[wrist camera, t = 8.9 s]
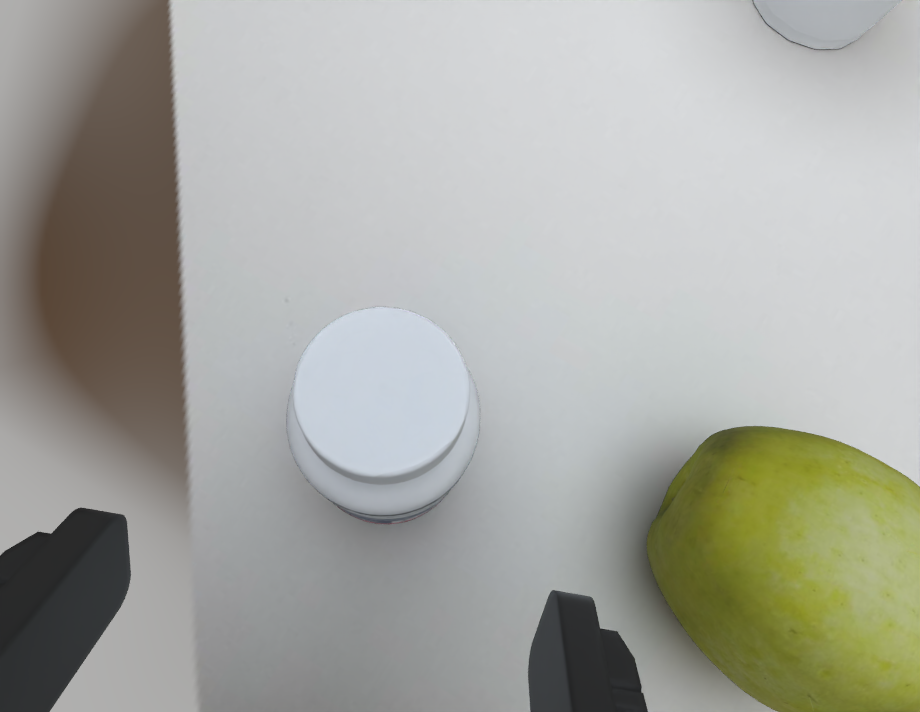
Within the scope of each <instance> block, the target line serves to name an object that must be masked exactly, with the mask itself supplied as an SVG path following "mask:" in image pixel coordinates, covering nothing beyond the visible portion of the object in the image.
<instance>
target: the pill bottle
mask: <svg viewBox="0 0 920 712" xmlns="http://www.w3.org/2000/svg"><path fill="white" fill-rule="evenodd" d="M286 421H287V435H288V441H289V445H290V449H291V452H292V454H293V457H294V459H295V461H296V463H297V466H298V467H299V469H300V470H301V472H302V474H303V475H304V476H305V478H306V479H307V481H308V482H309V483H310V484H311V485H312V486H313V487H314V488H315V489H316V490H317V491H318V492H319V493H321V494H322V495H323V496H324V497H326V498H327V499H328V500H330V501H331V502H333V503H334V504H335V505H337V506H338V507H339V508H340V509H341V510H343V511H344V512H346V513H348V514H349V515H351V516H353V517H356V518H358V519H360V520H363V521H367V522H371V523H375V524H396V523H402V522H406V521H409V520H412V519H415V518H417V517H419V516H421V515H423V514H425V513H427V512H428V511H429V510H431V509H432V508H434V507H435V506H436V505H437V504H438V503H439V502H440V501H441V500H442V499H443V498H444V497H445V496H446V495H447V494H448V492H449V491H450V490H451V489H452V487H453V486H454V485H455V484H456V483H457V482H458V480H459V479H460V478H461V476H462V475H463V473H464V472H465V470H466V468H467V466H468V464H469V462H470V461H471V459H472V456H473V454H474V451H475V448H476V445H477V441H478V436H479V430H480V401H479V396H478V392H477V388H476V385H475V382H474V380H473V378H472V375H471V373H470V371H469V370H468V368H467V366H466V364H465V361H464V359H463V357H462V355H461V353H460V351H459V349H458V347H457V346H456V344H455V343H454V342H453V340H452V339H451V338H450V337H449V336H448V334H447V333H446V332H445V331H443V330H442V329H441V328H440V327H439V326H438V325H436V324H435V323H434V322H432V321H431V320H429V319H427V318H425V317H423V316H421V315H419V314H416V313H414V312H411V311H407V310H404V309H400V308H390V307H372V308H366V309H361V310H357V311H354V312H351V313H348V314H346V315H344V316H341V317H339V318H338V319H336V320H334V321H333V322H331V323H330V324H329V325H327V326H326V327H325V328H323V329H322V330H321V331H320V332H319V333H318V334H317V335H316V336H315V337H314V338H313V340H312V341H311V342H310V343H309V345H308V346H307V348H306V349H305V351H304V353H303V355H302V357H301V358H300V360H299V363H298V365H297V368H296V372H295V377H294V383H293V386H292V389H291V393H290V396H289V401H288V408H287V420H286Z"/></svg>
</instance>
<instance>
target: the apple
mask: <svg viewBox="0 0 920 712" xmlns="http://www.w3.org/2000/svg"><path fill="white" fill-rule="evenodd" d="M647 555H648V559H649V563H650V566H651V569H652V572H653V575H654V577H655V579H656V582H657V584H658V586H659V588H660V590H661V592H662V594H663V596H664V598H665V600H666V601H667V603H668V605H669V606H670V608H671V609H672V611H673V613H674V614H675V616H676V617H677V619H678V620H679V622H680V623H681V625H682V626H683V628H684V629H685V630H686V632H687V633H688V635H689V636H690V637H691V639H692V640H693V641H694V642H695V644H696V645H697V646H698V647H699V648H700V649H701V651H702V652H703V653H704V654H705V655H706V656H707V657H708V658H709V659H710V660H711V661H712V662H713V663H714V664H715V665H716V666H717V667H718V668H719V669H720V670H721V671H722V672H723V673H724V674H725V675H726V676H727V677H728V678H729V679H730V680H731V681H732V682H734V683H735V684H736V685H737V686H738V687H740V688H741V689H742V690H743V691H744V692H746V693H747V694H749V695H750V696H752V697H753V698H755V699H756V700H757V701H759V702H761V703H762V704H764V705H766V706H768V707H770V708H771V709H773V710H776V711H778V712H920V487H919V486H918V485H917V484H916V483H914V482H913V481H912V480H911V479H909V478H908V477H906V476H905V475H903V474H902V473H900V472H899V471H897V470H895V469H893V468H892V467H890V466H888V465H886V464H885V463H883V462H881V461H880V460H878V459H876V458H874V457H872V456H870V455H868V454H866V453H864V452H862V451H860V450H858V449H856V448H854V447H851V446H849V445H847V444H844V443H842V442H839V441H836V440H833V439H830V438H826V437H823V436H819V435H815V434H810V433H806V432H800V431H795V430H788V429H782V428H776V427H764V426H746V427H736V428H731V429H727V430H723V431H719V432H717V433H715V434H713V435H711V436H710V437H709V438H707V439H706V440H705V441H704V442H703V443H702V444H701V445H700V446H699V447H698V449H697V450H696V452H695V453H694V454H693V455H692V457H691V458H690V459H689V460H688V461H687V462H686V463H685V465H684V466H683V467H682V469H681V470H680V471H679V473H678V474H677V475H676V477H675V478H674V480H673V481H672V483H671V485H670V486H669V488H668V491H667V493H666V496H665V498H664V501H663V503H662V506H661V508H660V510H659V513H658V515H657V517H656V519H655V520H654V521H653V522H652V524H651V527H650V530H649V533H648V536H647Z"/></svg>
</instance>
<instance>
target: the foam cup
mask: <svg viewBox="0 0 920 712" xmlns="http://www.w3.org/2000/svg"><path fill="white" fill-rule="evenodd" d="M901 1H902V0H753V2H754V4H755V6H756V8H757V9H758V11H759V12H760V14H761V15H762V17H763V19H764V20H765V22H766V23H767V24H768V25H769V26H771V27H772V28H773V29H775V30H776V31H777V32H779V33H780V34H781V35H783V36H784V37H785V38H786V39H788V40H790V41H793V42H796V43H799V44H801V45H804V46H807V47H810V48H813V49H840V48H842V47H844V46H846V45H848V44H850V43H852V42H853V41H855V40H857V39H859V37H860V36H861V35H862V34H863V33H864V32H866V31H868V30H869V29H870V28H872V27H873V26H874V25H875V24H876V23H877V22H878V21H880V20H881V19H882V18H883V17H884V16H885V15H886V14H887V13H889V12H890V11H891V10H892V9H893V8H894V7H895V6H896V5H898V4H899V3H900V2H901Z"/></svg>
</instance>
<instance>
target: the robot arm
mask: <svg viewBox="0 0 920 712" xmlns="http://www.w3.org/2000/svg"><path fill="white" fill-rule="evenodd" d="M130 576H131V571H130V557H129V544H128V530H127V521H126V518H125V517H124V515H121V514H115V513H109V512H104V511H98V510H92V509H86V508H78V509H76V510H74V511H73V512H72V513H71V514H70V515H69V516H68V517H67V518H66V519H65V520H64V521H63V522H62V523H61V524H60V525H59V526H58V527H57V529H55V531H54V532H53V533H52V534H49V533H42V532H37V533H35V534H34V535H32V536H30V537H28V538H27V539H25V540H23V541H21V542H20V543H18V544H16V545H15V546H13V547H11V548H10V549H8V550H6V551H5V552H4V553H3V554H2V555H1V556H0V712H50V710H51V709H52V707H53V706H54V704H55V703H56V701H57V700H58V698H59V697H60V695H61V694H62V692H63V691H64V689H65V688H66V687H67V685H68V684H69V682H70V681H71V679H72V678H73V676H74V675H75V673H76V672H77V670H78V669H79V667H80V666H81V664H82V663H83V662H84V660H85V659H86V657H87V656H88V654H89V653H90V651H91V650H92V648H93V647H94V645H95V644H96V642H97V641H98V640H99V638H100V637H101V635H102V634H103V632H104V631H105V629H106V628H107V626H108V625H109V623H110V622H111V620H112V619H113V618H114V616H115V614H116V613H117V612H118V610H119V609H120V607H121V605H122V603H123V601H124V599H125V596H126V594H127V591H128V587H129V583H130ZM528 681H529V696H530V711H531V712H648V711H647V707H646V703H645V699H644V695H643V693H641V688H642V687H641V683H640V679H639V675H638V671H637V667H636V663H635V659H634V657H633V655H632V654H631V652H630V651H629V649H628V648H627V646H626V644H625V643H624V641H623V640H622V638H621V637H620V635H619V633H618V632H617V631H611V630H605V629H600V627H599V622H598V617H597V612H596V607H595V603H594V600H593V598H592V597H590V596H584V595H578V594H572V593H566V592H561V591H555V590H553V591H551V593H550V594H549V597H548V599H547V602H546V605H545V608H544V611H543V614H542V616H541V619H540V622H539V625H538V628H537V631H536V633H535V636H534V639H533V642H532V646H531V650H530V656H529V667H528Z"/></svg>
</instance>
